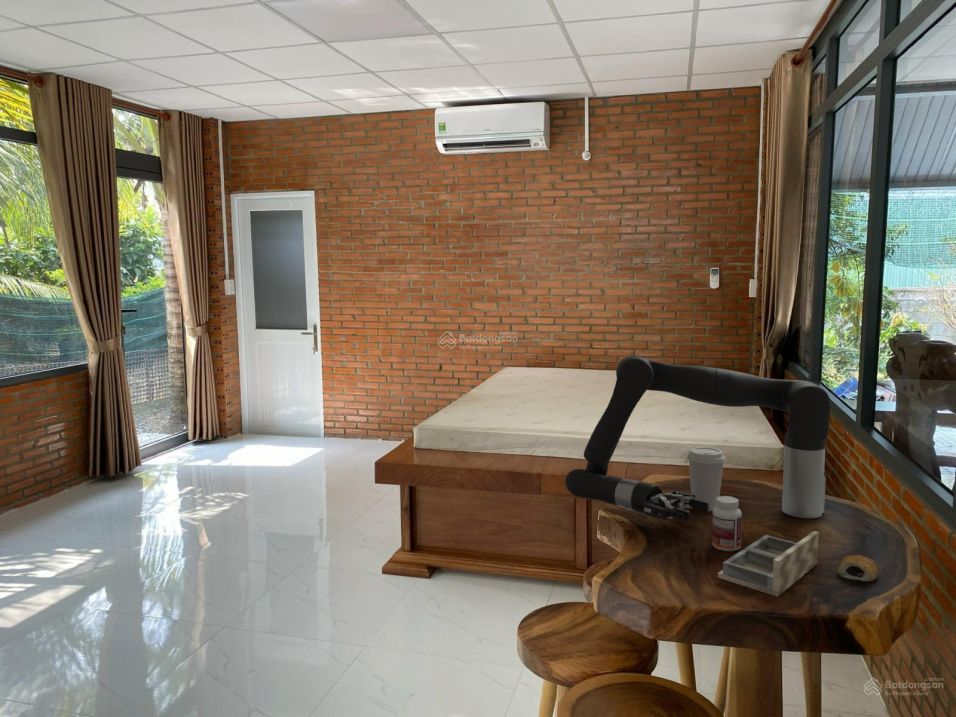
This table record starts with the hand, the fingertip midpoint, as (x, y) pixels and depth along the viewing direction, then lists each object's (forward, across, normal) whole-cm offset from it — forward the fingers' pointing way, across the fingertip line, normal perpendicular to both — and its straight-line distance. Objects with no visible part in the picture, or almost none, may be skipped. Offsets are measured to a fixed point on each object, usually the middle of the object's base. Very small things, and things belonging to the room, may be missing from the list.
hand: (698, 511), depth 162 cm
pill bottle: (+7, 0, +7) cm, 10 cm away
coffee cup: (-9, +21, +7) cm, 24 cm away
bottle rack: (+19, -6, +6) cm, 21 cm away
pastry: (+32, +5, +7) cm, 34 cm away
